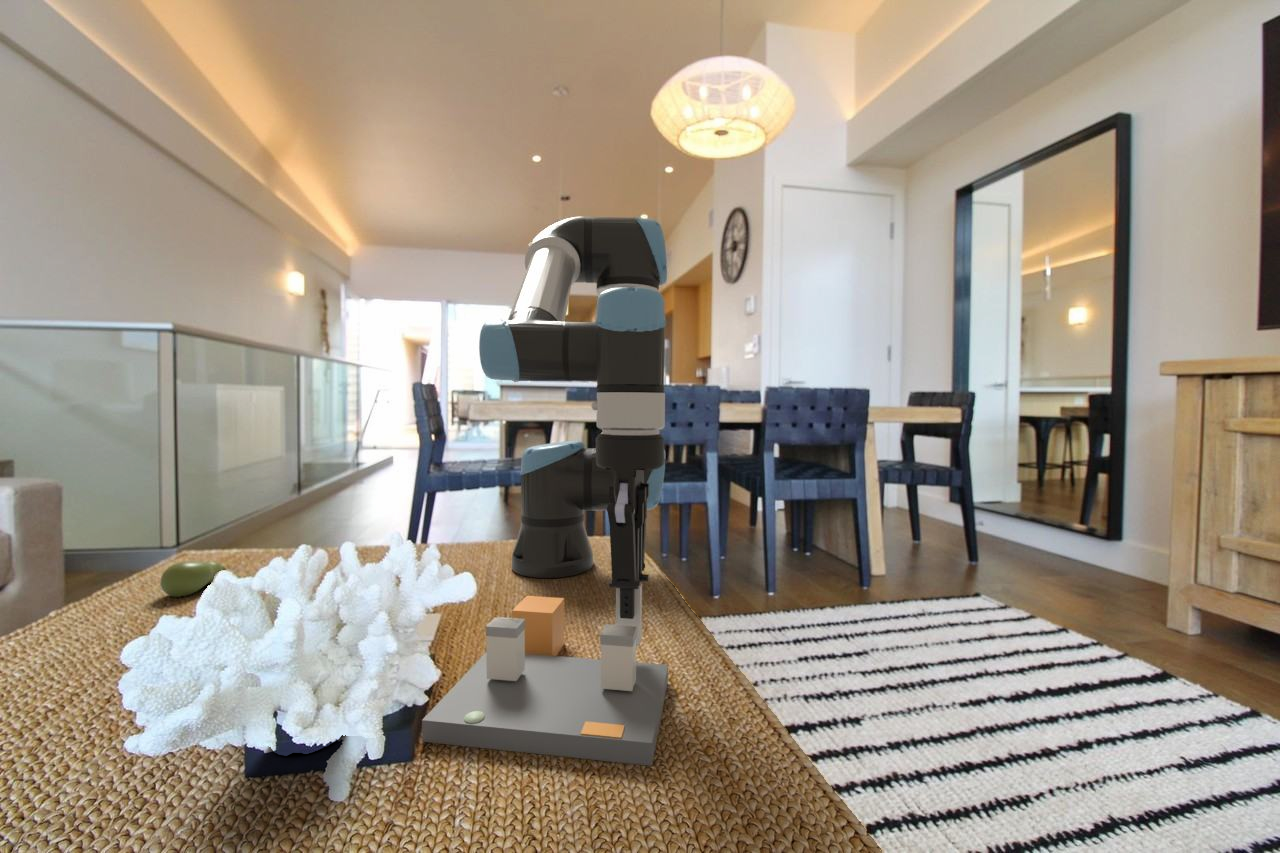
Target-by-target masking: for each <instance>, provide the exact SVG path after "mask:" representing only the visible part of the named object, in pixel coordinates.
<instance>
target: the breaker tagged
mask: <svg viewBox="0 0 1280 853" xmlns="http://www.w3.org/2000/svg"><path fill="white" fill-rule="evenodd" d="M636 637H637V627H636V626H621V625H616V624H605V625H604V627H603V628H602V630H601V633H600V634H599V638H600V639H599V645H600V659H601V689H613V690H624V691H632V690H633V687H634V684H635V681H636V662H637V646H636Z"/></svg>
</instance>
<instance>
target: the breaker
mask: <svg viewBox="0 0 1280 853" xmlns="http://www.w3.org/2000/svg"><path fill="white" fill-rule="evenodd" d="M485 636H486V639H485V640H486V642H485V643H486V645H485V646H486V650H485V653H487V679H497V680H508V681H517V680H518V678H519V677H520V676H521V674H522V673H523V671H524V670H525V619H519V618H512V617H501V616H495V617H494V618H493V619H492V620H491V621H490V622H488V623H487V625H486V626H485Z"/></svg>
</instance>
